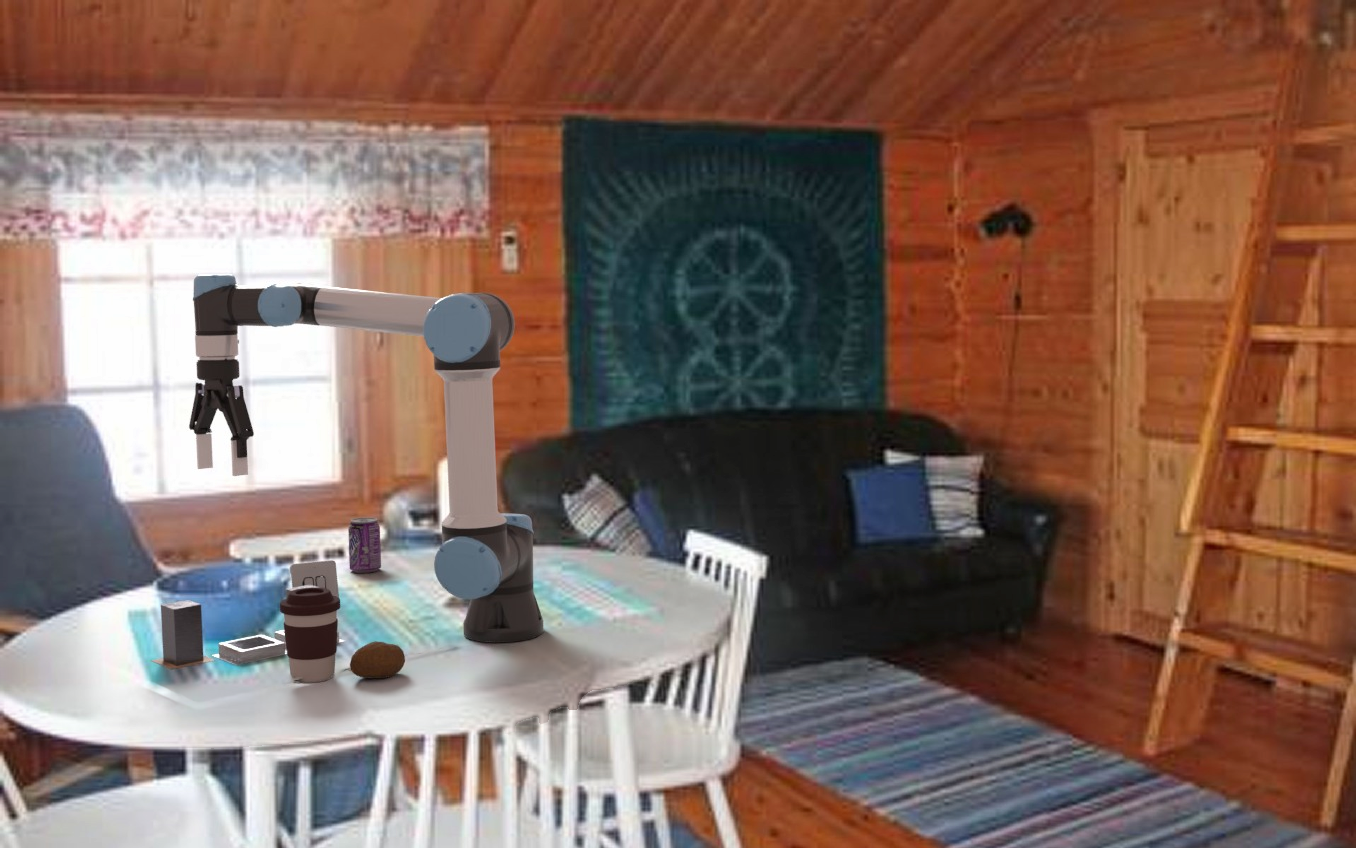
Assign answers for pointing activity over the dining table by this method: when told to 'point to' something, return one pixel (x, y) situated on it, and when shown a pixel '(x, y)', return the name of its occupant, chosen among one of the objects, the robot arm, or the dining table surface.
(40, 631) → the dining table surface
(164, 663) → the walnut pad
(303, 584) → the electrical switch
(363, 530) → the beverage can
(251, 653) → the white recessed tray
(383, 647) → the potato
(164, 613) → the block
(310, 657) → the coffee cup
